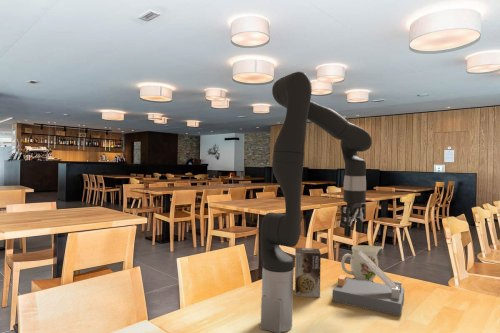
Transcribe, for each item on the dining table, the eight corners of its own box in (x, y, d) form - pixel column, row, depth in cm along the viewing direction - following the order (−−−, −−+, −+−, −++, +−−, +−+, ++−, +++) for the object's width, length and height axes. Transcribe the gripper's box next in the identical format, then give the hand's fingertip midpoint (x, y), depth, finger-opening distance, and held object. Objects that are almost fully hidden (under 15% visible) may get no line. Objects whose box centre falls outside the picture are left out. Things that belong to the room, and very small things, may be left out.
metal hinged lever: (396, 296, 114) (400, 292, 113) (355, 255, 120) (358, 252, 120) (397, 290, 119) (401, 287, 118) (358, 252, 125) (361, 249, 125)
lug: (343, 286, 123) (343, 279, 122) (337, 285, 123) (338, 278, 123) (346, 282, 127) (346, 275, 127) (341, 281, 128) (341, 274, 128)
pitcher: (335, 276, 145) (336, 244, 145) (374, 274, 148) (375, 243, 148) (346, 285, 134) (348, 251, 134) (388, 283, 137) (389, 250, 137)
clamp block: (400, 316, 109) (401, 294, 108) (332, 301, 119) (332, 281, 119) (404, 298, 123) (404, 279, 123) (342, 286, 133) (343, 268, 133)
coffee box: (318, 290, 128) (319, 248, 128) (320, 297, 122) (321, 253, 121) (294, 289, 129) (295, 247, 129) (294, 296, 123) (295, 251, 122)
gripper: (355, 191, 111) (354, 240, 111) (373, 187, 121) (372, 232, 122) (334, 189, 116) (333, 236, 117) (353, 186, 126) (352, 229, 127)
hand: (353, 234), depth 119 cm, fingers open, 8 cm apart
